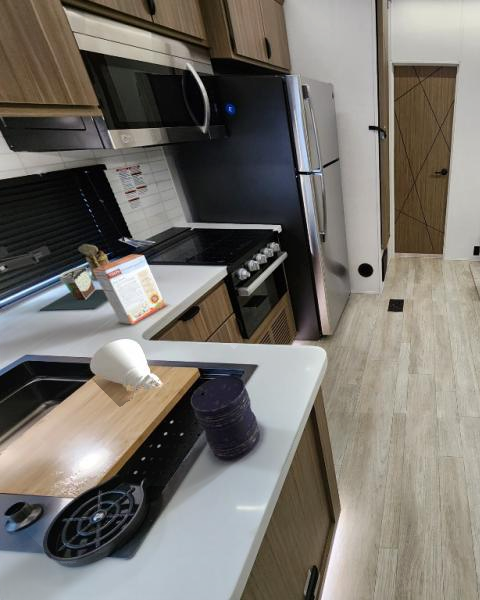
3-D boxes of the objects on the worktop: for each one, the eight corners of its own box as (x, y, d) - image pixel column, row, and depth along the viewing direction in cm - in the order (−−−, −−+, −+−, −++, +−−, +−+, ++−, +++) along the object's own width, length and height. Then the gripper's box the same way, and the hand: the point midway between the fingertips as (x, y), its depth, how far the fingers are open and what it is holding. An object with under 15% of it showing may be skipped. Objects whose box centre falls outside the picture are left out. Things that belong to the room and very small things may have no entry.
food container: (79, 290, 138) (67, 268, 133) (97, 287, 140) (86, 266, 135) (64, 303, 128) (51, 280, 123) (84, 301, 129) (71, 278, 125)
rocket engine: (149, 369, 80) (109, 334, 86) (117, 412, 78) (78, 374, 84) (187, 375, 90) (149, 344, 97) (160, 413, 88) (123, 379, 94)
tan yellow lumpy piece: (90, 285, 142) (69, 246, 133) (94, 274, 152) (74, 237, 143) (115, 280, 146) (97, 241, 138) (118, 270, 156) (100, 233, 148)
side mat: (40, 310, 124) (39, 309, 124) (74, 291, 138) (74, 290, 138) (94, 309, 125) (94, 308, 125) (123, 289, 139) (123, 288, 138)
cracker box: (153, 303, 128) (131, 253, 118) (166, 305, 126) (145, 254, 116) (118, 323, 116) (90, 268, 106) (132, 325, 115) (105, 270, 104)
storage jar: (264, 420, 78) (250, 372, 71) (255, 457, 70) (237, 407, 62) (220, 426, 77) (200, 378, 69) (205, 465, 68) (181, 414, 61)
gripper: (-82, 290, 94) (-6, 261, 112) (10, 288, 95) (70, 259, 113) (-102, 266, 90) (-20, 240, 108) (-6, 263, 91) (59, 238, 109)
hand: (26, 250), depth 111 cm, fingers open, 13 cm apart
